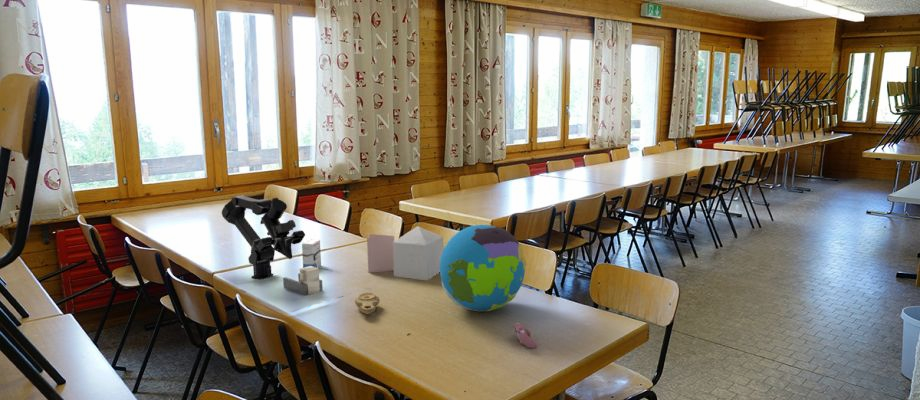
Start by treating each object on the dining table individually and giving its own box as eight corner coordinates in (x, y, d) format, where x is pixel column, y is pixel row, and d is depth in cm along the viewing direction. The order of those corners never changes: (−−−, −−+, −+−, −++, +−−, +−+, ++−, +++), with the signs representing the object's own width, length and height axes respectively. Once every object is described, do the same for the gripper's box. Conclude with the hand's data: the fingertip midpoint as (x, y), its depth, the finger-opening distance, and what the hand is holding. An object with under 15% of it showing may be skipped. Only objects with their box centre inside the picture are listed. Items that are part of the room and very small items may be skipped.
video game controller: (518, 341, 192) (508, 322, 191) (531, 334, 192) (521, 315, 191) (524, 354, 182) (514, 335, 181) (538, 347, 183) (528, 328, 181)
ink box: (313, 270, 262) (312, 244, 260) (302, 270, 263) (301, 243, 260) (321, 265, 270) (320, 239, 268) (311, 264, 271) (309, 238, 269)
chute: (283, 290, 237) (283, 277, 236) (301, 285, 243) (300, 273, 242) (305, 298, 228) (304, 285, 227) (322, 292, 234) (322, 280, 233)
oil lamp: (365, 320, 206) (364, 306, 205) (344, 308, 217) (344, 295, 216) (392, 313, 213) (391, 299, 212) (371, 302, 224) (370, 289, 223)
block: (300, 291, 232) (299, 268, 230) (312, 288, 235) (310, 265, 234) (308, 294, 228) (307, 271, 227) (319, 291, 232) (318, 268, 230)
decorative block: (393, 276, 253) (392, 229, 250) (410, 266, 268) (409, 221, 264) (428, 280, 247) (427, 232, 244) (444, 269, 262) (443, 224, 258)
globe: (469, 332, 195) (469, 241, 189) (424, 305, 220) (422, 223, 214) (542, 314, 210) (544, 228, 205) (492, 290, 235) (492, 213, 230)
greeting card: (395, 269, 263) (395, 235, 260) (388, 274, 256) (387, 239, 253) (372, 267, 266) (370, 233, 263) (363, 272, 259) (362, 237, 257)
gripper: (259, 218, 231) (277, 251, 226) (301, 210, 245) (319, 241, 240) (249, 235, 238) (266, 268, 233) (291, 226, 251) (308, 257, 246)
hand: (291, 258), depth 238 cm, fingers closed
